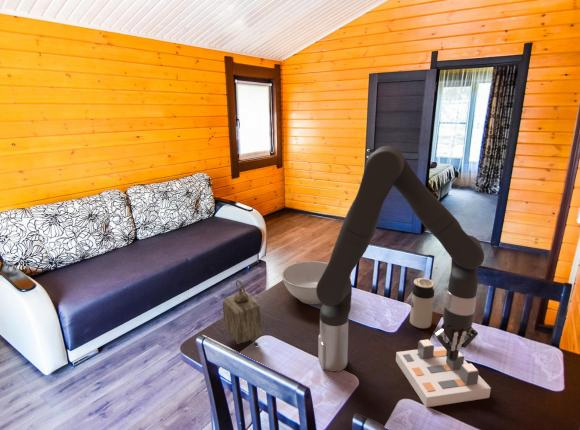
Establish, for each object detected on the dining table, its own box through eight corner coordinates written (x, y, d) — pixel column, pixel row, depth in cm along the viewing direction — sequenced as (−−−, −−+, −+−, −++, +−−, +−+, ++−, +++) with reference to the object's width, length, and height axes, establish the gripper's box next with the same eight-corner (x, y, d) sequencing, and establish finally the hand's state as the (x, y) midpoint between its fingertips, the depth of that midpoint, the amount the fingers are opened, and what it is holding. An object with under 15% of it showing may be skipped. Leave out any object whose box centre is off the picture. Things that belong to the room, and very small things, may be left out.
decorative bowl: (311, 278, 182) (311, 256, 178) (353, 297, 163) (354, 273, 159) (270, 297, 164) (269, 273, 161) (312, 321, 145) (312, 294, 142)
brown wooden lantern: (263, 348, 130) (259, 286, 123) (240, 357, 125) (235, 293, 118) (246, 328, 142) (242, 270, 134) (224, 336, 137) (219, 277, 130)
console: (425, 407, 103) (426, 396, 102) (395, 360, 122) (396, 351, 120) (489, 397, 105) (490, 387, 104) (450, 353, 124) (451, 344, 123)
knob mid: (452, 370, 111) (453, 357, 110) (445, 362, 114) (447, 350, 113) (462, 368, 112) (464, 356, 110) (456, 361, 115) (457, 349, 114)
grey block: (466, 385, 105) (468, 372, 104) (459, 376, 108) (460, 364, 107) (477, 383, 105) (479, 370, 104) (469, 375, 109) (471, 362, 107)
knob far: (422, 358, 116) (424, 346, 115) (417, 351, 120) (418, 340, 118) (432, 357, 117) (434, 345, 116) (427, 350, 120) (428, 338, 119)
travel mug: (431, 320, 144) (435, 279, 139) (430, 330, 137) (434, 288, 132) (411, 315, 147) (414, 276, 142) (408, 326, 140) (411, 284, 135)
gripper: (445, 316, 94) (437, 370, 99) (490, 312, 96) (480, 365, 101) (430, 301, 101) (423, 353, 106) (472, 297, 103) (464, 348, 108)
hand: (451, 359), depth 104 cm, fingers closed
